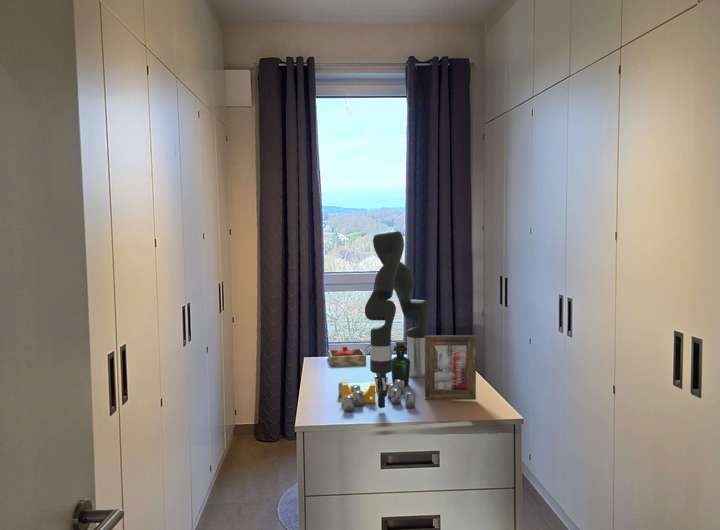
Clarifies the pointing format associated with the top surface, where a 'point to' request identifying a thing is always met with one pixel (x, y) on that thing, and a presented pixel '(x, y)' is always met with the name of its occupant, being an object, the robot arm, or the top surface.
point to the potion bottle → (400, 363)
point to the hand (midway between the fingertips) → (381, 407)
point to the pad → (362, 386)
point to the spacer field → (393, 394)
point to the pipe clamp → (366, 395)
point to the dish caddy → (347, 358)
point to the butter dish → (345, 352)
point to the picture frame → (450, 367)
